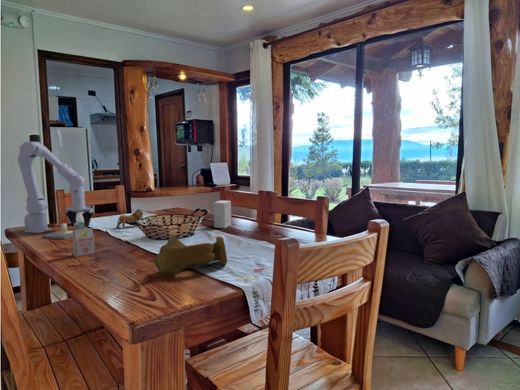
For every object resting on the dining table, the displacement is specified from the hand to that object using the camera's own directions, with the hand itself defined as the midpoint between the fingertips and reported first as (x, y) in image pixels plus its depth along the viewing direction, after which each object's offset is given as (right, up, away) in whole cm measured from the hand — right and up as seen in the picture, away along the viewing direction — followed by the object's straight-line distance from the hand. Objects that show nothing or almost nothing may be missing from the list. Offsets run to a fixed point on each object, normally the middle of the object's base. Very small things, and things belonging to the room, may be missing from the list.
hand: (80, 226), depth 182 cm
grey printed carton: (+23, -7, -43) cm, 49 cm away
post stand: (-2, -3, -12) cm, 12 cm away
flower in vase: (-7, 0, +14) cm, 16 cm away
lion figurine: (+23, -1, +6) cm, 24 cm away
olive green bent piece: (+68, -10, -60) cm, 91 cm away
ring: (0, -2, 0) cm, 2 cm away
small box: (+71, -1, +6) cm, 71 cm away
